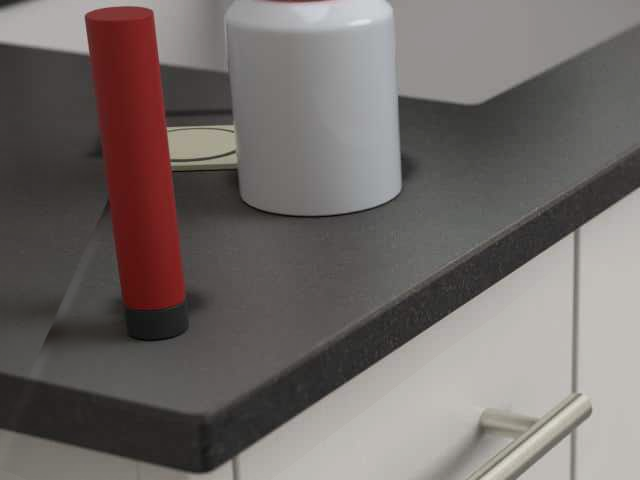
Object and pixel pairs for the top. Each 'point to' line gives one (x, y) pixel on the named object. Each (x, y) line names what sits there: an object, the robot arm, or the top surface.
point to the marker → (138, 169)
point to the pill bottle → (314, 104)
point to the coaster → (202, 147)
